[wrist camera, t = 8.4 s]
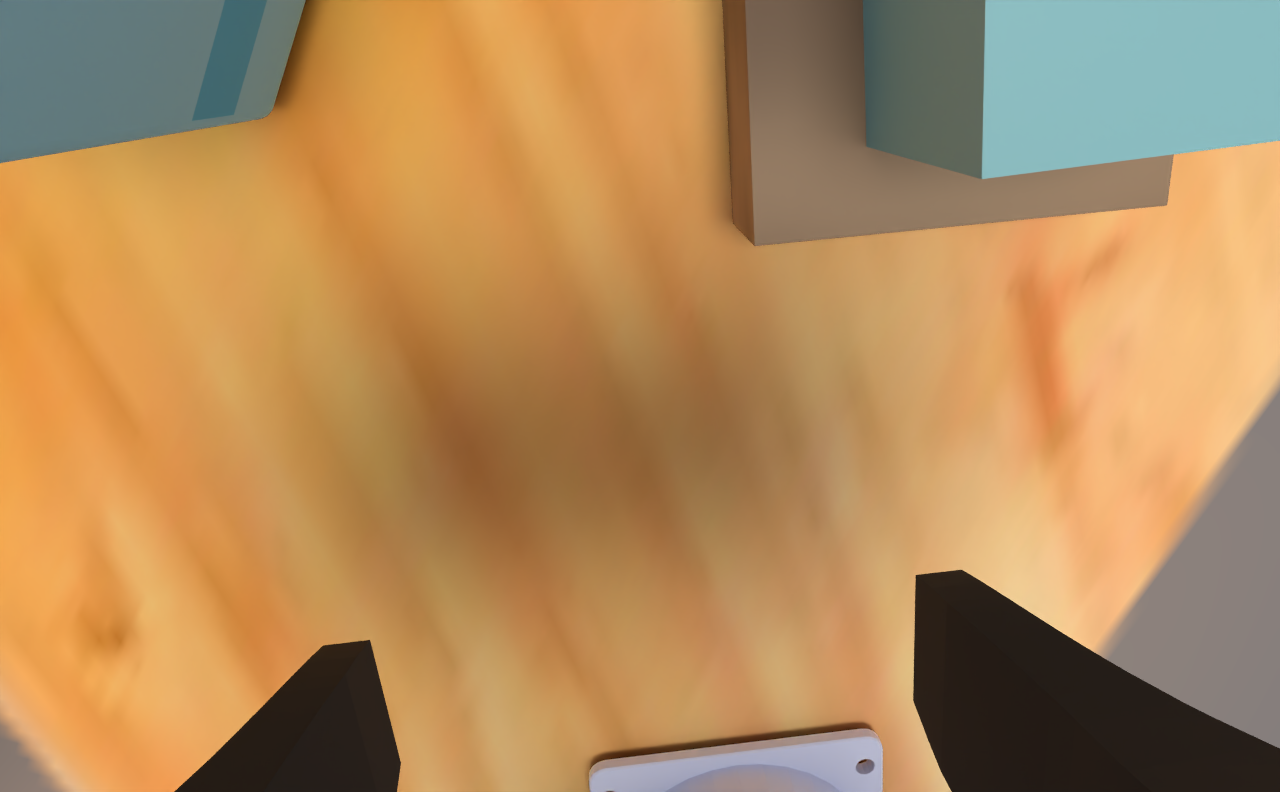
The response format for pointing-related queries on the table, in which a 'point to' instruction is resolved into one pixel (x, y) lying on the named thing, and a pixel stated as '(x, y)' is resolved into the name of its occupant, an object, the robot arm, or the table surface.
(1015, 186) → the walnut block
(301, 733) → the robot arm
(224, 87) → the data package
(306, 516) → the table surface
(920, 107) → the teal block
